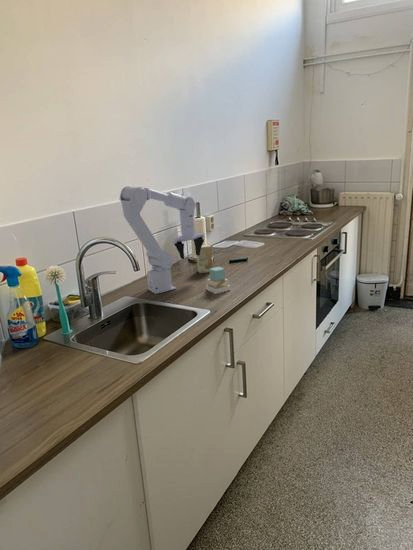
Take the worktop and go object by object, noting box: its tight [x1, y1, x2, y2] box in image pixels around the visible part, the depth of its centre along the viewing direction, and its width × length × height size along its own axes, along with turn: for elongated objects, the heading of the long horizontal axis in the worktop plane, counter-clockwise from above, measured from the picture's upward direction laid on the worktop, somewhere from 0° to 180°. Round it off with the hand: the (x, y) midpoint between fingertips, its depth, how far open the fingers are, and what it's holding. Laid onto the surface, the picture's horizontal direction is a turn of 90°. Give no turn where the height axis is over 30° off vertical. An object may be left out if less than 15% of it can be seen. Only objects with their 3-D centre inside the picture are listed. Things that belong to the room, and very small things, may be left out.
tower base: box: [205, 284, 231, 295], centre depth 167 cm, size 7×7×2 cm
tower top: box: [207, 278, 229, 289], centre depth 166 cm, size 6×6×2 cm
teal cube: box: [209, 266, 226, 282], centre depth 165 cm, size 4×4×4 cm
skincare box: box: [196, 244, 213, 274], centre depth 191 cm, size 6×4×12 cm
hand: (190, 256), depth 179 cm, fingers open, 7 cm apart
